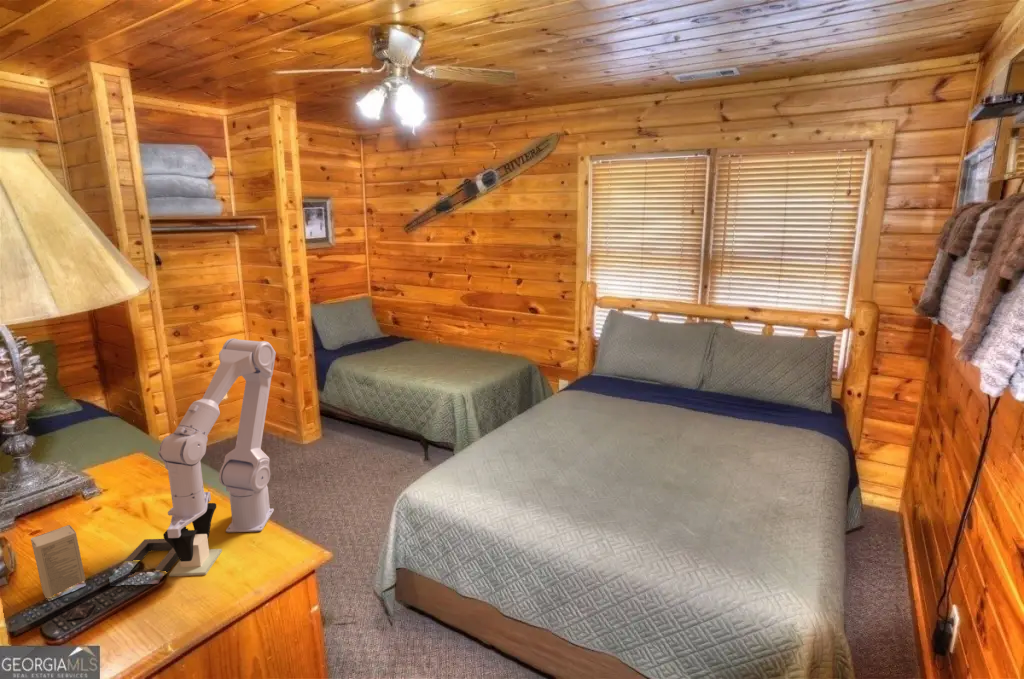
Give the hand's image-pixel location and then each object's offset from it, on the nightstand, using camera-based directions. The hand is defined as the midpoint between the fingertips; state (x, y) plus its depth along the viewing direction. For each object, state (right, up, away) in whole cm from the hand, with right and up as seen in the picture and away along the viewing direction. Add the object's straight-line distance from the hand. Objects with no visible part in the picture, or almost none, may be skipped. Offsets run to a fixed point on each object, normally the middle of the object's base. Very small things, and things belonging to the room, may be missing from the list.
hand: (194, 549), depth 116 cm
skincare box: (-21, -5, -8) cm, 23 cm away
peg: (0, -3, +1) cm, 3 cm away
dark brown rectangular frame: (-9, -3, 0) cm, 10 cm away
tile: (0, -3, +1) cm, 3 cm away
